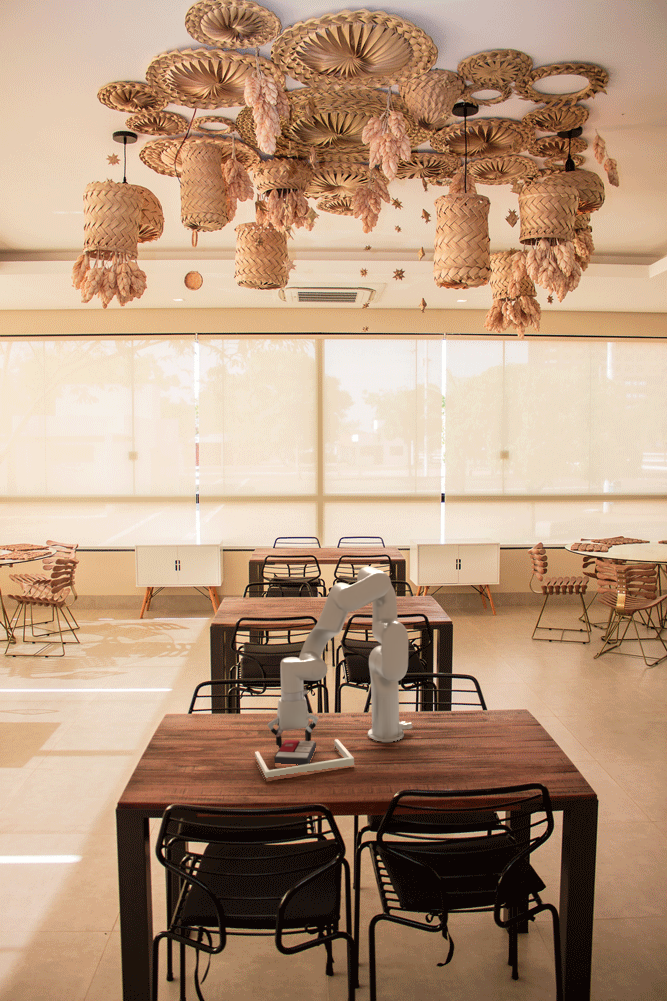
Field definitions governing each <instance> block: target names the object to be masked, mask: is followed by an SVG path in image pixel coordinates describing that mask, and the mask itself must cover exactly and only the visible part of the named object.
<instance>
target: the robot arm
mask: <svg viewBox="0 0 667 1001" xmlns="http://www.w3.org/2000/svg"><path fill="white" fill-rule="evenodd" d="M356 578H357V582H355V583H353V584H348V583H345V582H337V583H335V584H333V586H332V587H331V589H330V591H329V593H328V595H327V597H326V600H325V602H324V606H323V608H322V610H321V613H320V615H319V618H318V621H317V622H316V624H315V626H314V627H313V628H312V629H311V631H310V633H309V634H308V635H307V637H306V639H305V641H304V643H303V646H302V647H301V651H300V653H299V656H298V657H296V656H289V657H284V658H282V659H281V661H280V663H279V664H280V665H279V666H280V695H281V696H280V698H278V701H277V702H278V703H277V713H276V716H277V717H275V718H274V719H272V720H270V721H269V722H268V723H267V726H268V728H269V730H270V732H271V733H272V734H273V735H274V736H275V743H276V746H277V747H278V746H279V747H278V748H279V749H280V748H281V746H282V744H283V742H282V740H283V738H282V734H283V733H284V731H292V730H301V729H305V731H304V735H305V736H304V738H305V739H304V741H312V732H313V730H314V728H315V727H316V726H317V723H318V721H319V717H318V716H316V715H314V714H311V713H309V710H308V704H307V703H308V702H307V699H306V697H305V695H307V694H308V693H309V691H308V689H305V688H304V681H320V680H322V679H324V678H325V677H326V675H327V674H328V665H327V664H326V662H325V661H324V659H322V654H323V653H324V650H325V648H326V647H327V646H326V645H327V644H328V643H329V641H330V640H331V639H332V638H334V637H336V636H338V635H339V634H340V633H341V632H342V629H344V628H343V627H344V626H345V622H346V619H347V617H348V614H349V613H352V612H355V611H357V610H360V609H362V608H364V607H365V606H368V605H369V604H371V605H372V606H371V607H372V620H371V621H372V622H371V625H372V626H371V632H372V637H373V638H374V640H376V641H377V642H378V643H379V644H380V645H377V646H375V647H374V648H373V649H372V650H371V651H370V654H369V656H368V668H369V676H370V685H371V686H370V688H371V689H370V690H371V692H370V693H371V694H370V695H371V728H370V729H369V730H367V737H368V736H369V737H370V738H372V739H374V740H377V741H382V742H381V743H394V742H393V741H395V742H398V741H400V739H401V740H402V739H403V738H404V736H405V732H404V731H405V730H408V729H413V723H412V722H406V721H400V702H399V701H400V698H399V696H400V695H399V694H400V693H399V681H401V680H402V679H403V678H404V677H405V676H406V674H407V671H408V667H409V634H408V630H407V628H406V626H405V625H404V624H403V623H402V622H400V621H399V620H398V601H397V594H396V591H395V588H394V587H393V585H392V581H391V578H390V576H389V574H388V573H386V572H385V571H383V570H380V569H378V568H376V567H374V566H369V565H368V566H363V567H361V568H360V569H359V570H358V572H357V577H356ZM309 719H310V720H312V721H311V722H310V720H309ZM275 725H277V726H278V727H277V728H276V729H275V728H274V726H275ZM369 737H368V738H369ZM370 738H369V739H370ZM374 740H373V741H374ZM397 740H398V741H397ZM377 741H376V742H377Z"/></svg>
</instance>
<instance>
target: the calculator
mask: <svg viewBox="0 0 667 1001" xmlns="http://www.w3.org/2000/svg"><path fill="white" fill-rule="evenodd" d="M315 748H316V749H317V743H316V741H314V740H311V741H305V740H297V739H296V740H294V739H293V740H292V739H289V740H288V739H285V740H284V741H283V742H282V746H281V748H279V749H278V750H277V752H276V754H275V756H273V757H274V761H273V763H281V764H296V765H297V764H298V765H304V764H309V763H310V760H311V758H312V756H313V753H314V751H315Z"/></svg>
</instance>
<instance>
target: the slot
mask: <svg viewBox="0 0 667 1001" xmlns="http://www.w3.org/2000/svg"><path fill="white" fill-rule="evenodd" d="M333 743H334V747H335V746H336V748H337V749H338V750H339V752H340V753H341V754H342V755H343V757H344V758H342V757H341V758H335V759H330V760H329V759H328V760H325V761H324V760H323V761H318V762H311V763H310V764H304V765H298V766H292V767H286V768H275V769H274V768H273V769H269V768H268V767H267V765H266V762H265V761H264V759H263V757H262V755H261V754H260V751H258V750H257V751H255V752H254V758H255V757H256V759H257V761H258V763H259V765H260V767H261V769H262V771H263V773H264V775H265V777H266V778H268V777H274V776H280V775H286V774H294V773H298V772H307V771H314V770H322V769H328V768H335V767H344V766H351V765H354V766H355V757H354V756H353V755H352V754H351V753H350V751H349V750H348V749H347V748H346V747H345V746H344V745H343V743H342V742H341V741H340V740H339V739H338V738H335V739H334V742H333Z"/></svg>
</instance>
